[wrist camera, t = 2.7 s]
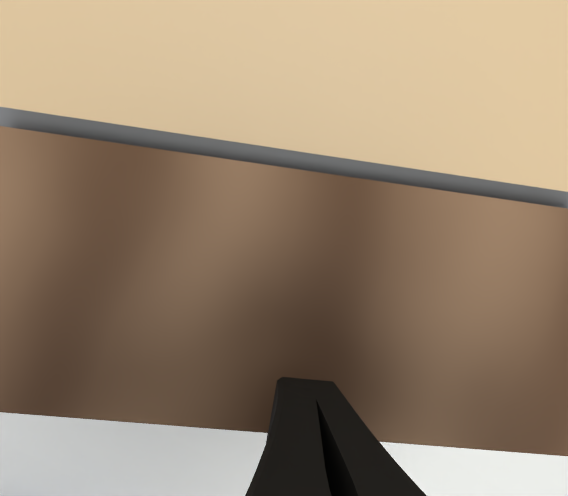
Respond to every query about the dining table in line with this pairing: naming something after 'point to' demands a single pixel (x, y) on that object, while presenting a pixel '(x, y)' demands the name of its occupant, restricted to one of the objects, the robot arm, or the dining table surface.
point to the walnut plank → (275, 296)
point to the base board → (307, 85)
